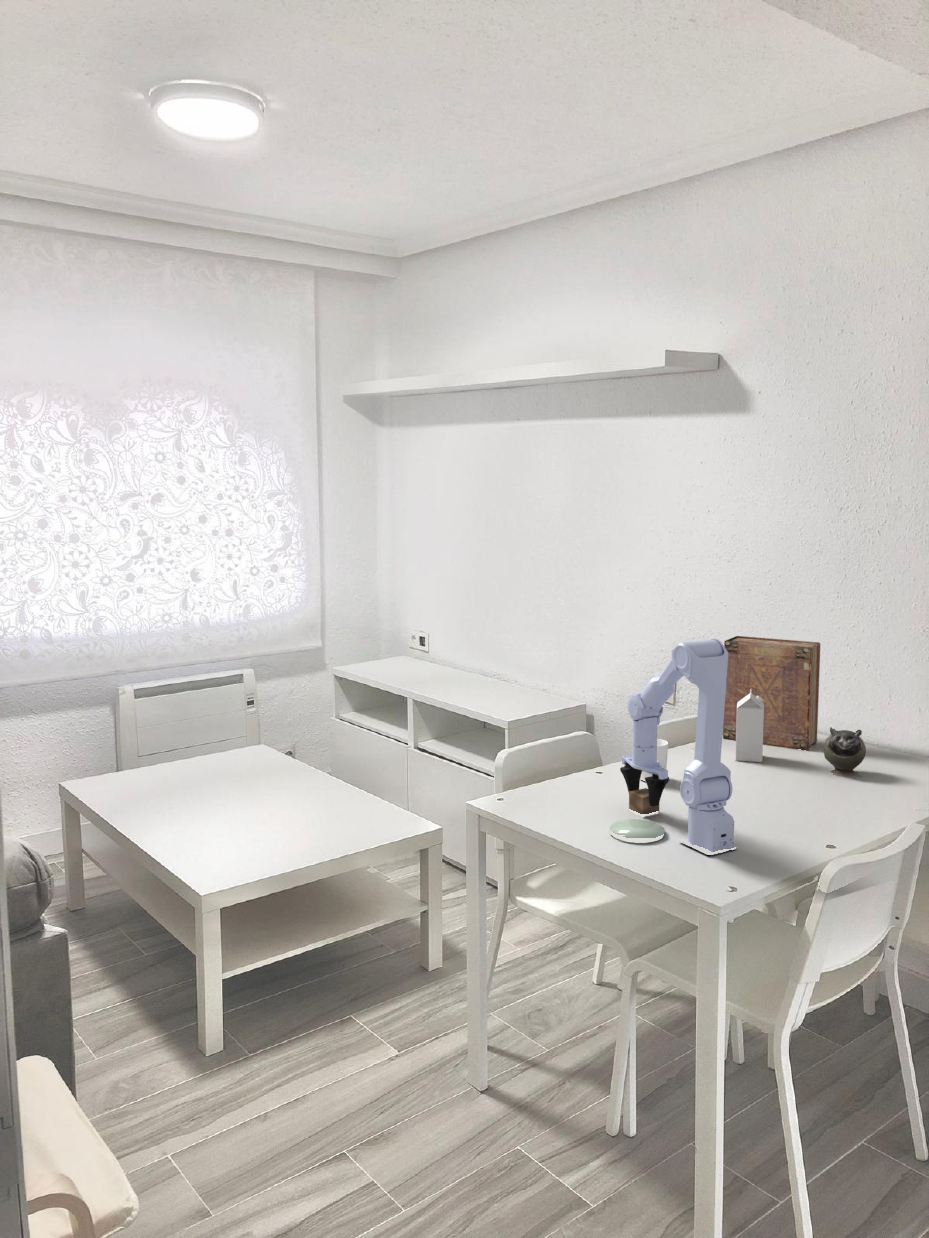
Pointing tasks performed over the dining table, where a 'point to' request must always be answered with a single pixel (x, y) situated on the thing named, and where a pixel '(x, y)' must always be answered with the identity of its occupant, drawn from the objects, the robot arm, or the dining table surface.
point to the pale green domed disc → (637, 828)
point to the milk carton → (749, 729)
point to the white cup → (659, 757)
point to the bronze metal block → (641, 802)
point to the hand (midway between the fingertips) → (643, 800)
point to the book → (775, 688)
